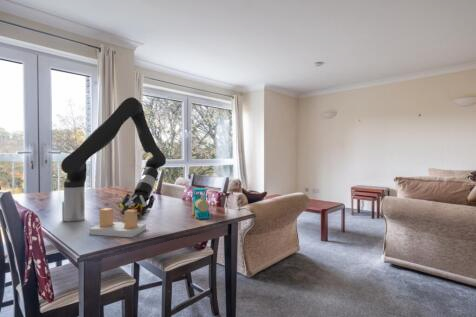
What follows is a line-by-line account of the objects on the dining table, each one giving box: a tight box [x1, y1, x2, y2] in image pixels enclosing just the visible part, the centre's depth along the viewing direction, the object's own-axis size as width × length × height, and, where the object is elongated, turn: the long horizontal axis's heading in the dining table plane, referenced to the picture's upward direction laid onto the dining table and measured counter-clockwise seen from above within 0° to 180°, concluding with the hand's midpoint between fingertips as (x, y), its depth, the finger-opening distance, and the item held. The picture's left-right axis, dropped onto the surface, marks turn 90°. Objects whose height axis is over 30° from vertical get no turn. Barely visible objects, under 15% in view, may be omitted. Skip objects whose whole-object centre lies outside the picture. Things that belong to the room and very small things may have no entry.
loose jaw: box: [123, 209, 138, 229], centre depth 122 cm, size 4×4×10 cm
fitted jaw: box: [99, 207, 114, 227], centre depth 124 cm, size 4×4×10 cm
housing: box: [89, 221, 147, 238], centre depth 123 cm, size 20×12×2 cm, turn 81°
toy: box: [118, 197, 148, 216], centre depth 161 cm, size 16×9×30 cm
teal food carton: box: [191, 187, 211, 219], centre depth 154 cm, size 8×17×15 cm, turn 20°
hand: (132, 214), depth 123 cm, fingers open, 8 cm apart
